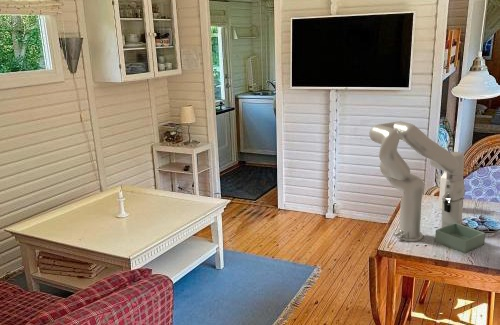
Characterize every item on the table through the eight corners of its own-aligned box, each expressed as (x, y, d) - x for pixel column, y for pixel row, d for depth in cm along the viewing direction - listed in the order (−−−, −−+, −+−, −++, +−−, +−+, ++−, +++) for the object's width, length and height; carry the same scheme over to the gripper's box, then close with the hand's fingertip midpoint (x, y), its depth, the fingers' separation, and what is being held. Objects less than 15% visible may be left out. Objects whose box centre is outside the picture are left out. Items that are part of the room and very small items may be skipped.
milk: (448, 211, 249) (450, 174, 243) (438, 208, 254) (440, 171, 248) (454, 208, 253) (456, 171, 247) (444, 206, 258) (446, 169, 252)
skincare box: (461, 228, 228) (463, 199, 224) (457, 232, 223) (459, 203, 219) (444, 224, 233) (446, 196, 229) (440, 228, 228) (442, 199, 224)
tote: (464, 253, 201) (465, 241, 200) (435, 241, 214) (435, 230, 213) (484, 244, 208) (485, 233, 207) (454, 233, 221) (455, 222, 220)
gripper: (450, 182, 214) (449, 215, 218) (472, 174, 222) (470, 206, 227) (436, 179, 220) (435, 211, 225) (458, 171, 228) (457, 203, 233)
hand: (453, 209), depth 226 cm, fingers open, 9 cm apart
